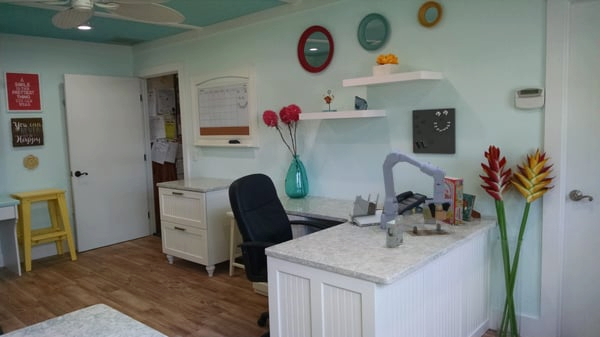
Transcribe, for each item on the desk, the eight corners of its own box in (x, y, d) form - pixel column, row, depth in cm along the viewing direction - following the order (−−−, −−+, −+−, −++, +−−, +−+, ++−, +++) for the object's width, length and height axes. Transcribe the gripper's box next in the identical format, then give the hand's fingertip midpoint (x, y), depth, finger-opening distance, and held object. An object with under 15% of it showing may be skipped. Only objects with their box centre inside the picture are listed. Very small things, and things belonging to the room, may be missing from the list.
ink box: (394, 242, 224) (394, 213, 222) (403, 244, 221) (403, 214, 219) (385, 246, 217) (385, 216, 216) (394, 247, 214) (395, 217, 213)
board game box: (433, 218, 279) (434, 175, 276) (442, 217, 280) (443, 174, 278) (453, 225, 259) (454, 179, 256) (463, 224, 261) (464, 178, 258)
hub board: (412, 238, 231) (412, 228, 230) (403, 233, 243) (403, 223, 242) (450, 236, 234) (450, 226, 233) (440, 231, 246) (440, 221, 245)
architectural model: (342, 215, 276) (348, 184, 268) (383, 211, 287) (389, 181, 279) (358, 232, 259) (364, 199, 251) (400, 227, 270) (407, 196, 262)
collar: (436, 220, 235) (436, 211, 235) (431, 218, 240) (431, 209, 240) (446, 219, 236) (446, 211, 235) (441, 217, 241) (441, 209, 241)
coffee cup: (423, 222, 269) (424, 197, 267) (440, 223, 264) (441, 198, 262) (419, 225, 260) (419, 199, 259) (436, 227, 255) (436, 201, 254)
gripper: (429, 193, 232) (429, 219, 233) (455, 192, 234) (455, 218, 235) (423, 191, 239) (423, 216, 240) (449, 190, 241) (448, 215, 242)
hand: (438, 217), depth 238 cm, fingers closed on collar, 6 cm apart
